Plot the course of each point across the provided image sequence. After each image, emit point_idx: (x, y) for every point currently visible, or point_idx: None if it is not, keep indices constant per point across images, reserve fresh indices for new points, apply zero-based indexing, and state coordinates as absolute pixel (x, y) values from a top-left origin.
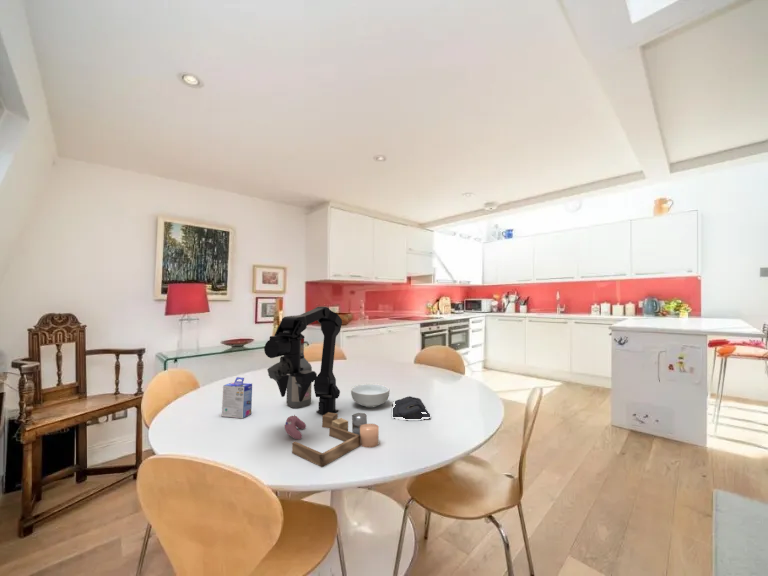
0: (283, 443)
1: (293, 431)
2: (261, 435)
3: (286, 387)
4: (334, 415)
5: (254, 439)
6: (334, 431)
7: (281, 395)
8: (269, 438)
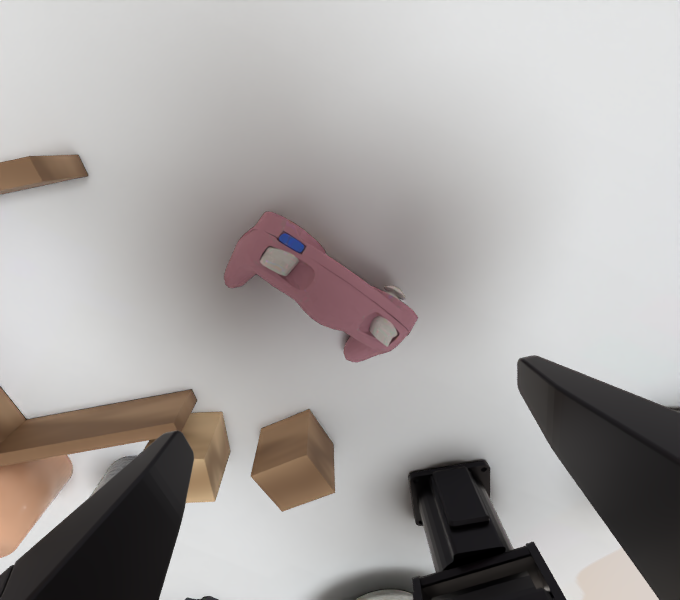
0: (238, 172)
1: (235, 251)
2: (449, 109)
3: (602, 516)
4: (268, 494)
5: (425, 36)
6: (144, 416)
7: (539, 361)
8: (365, 133)
